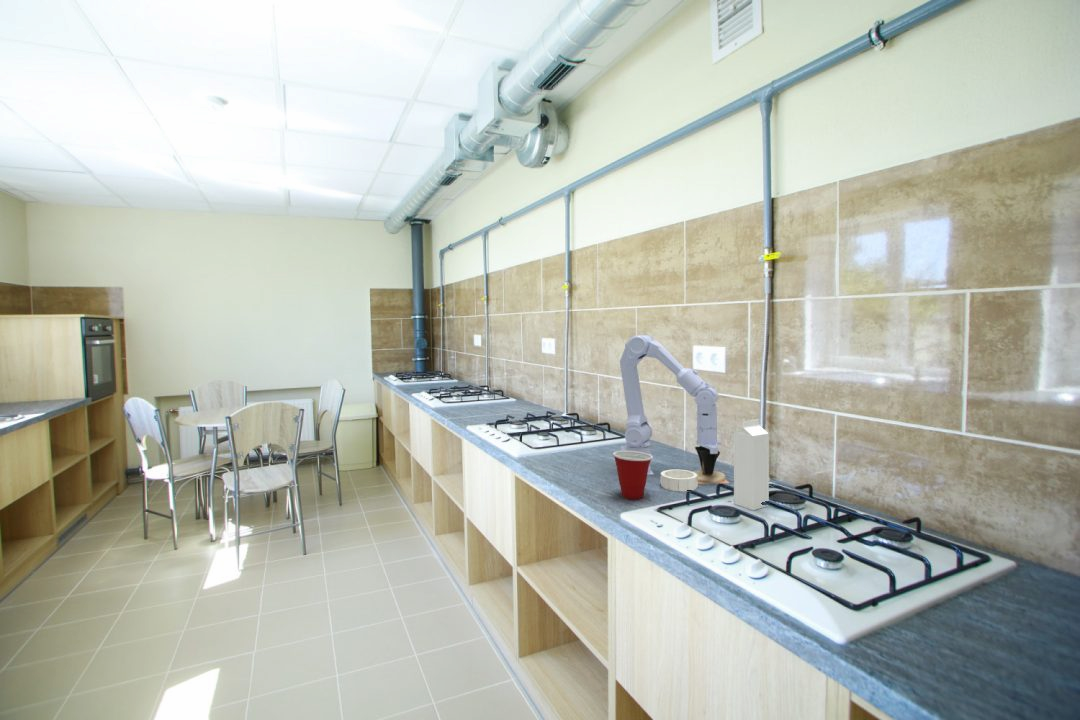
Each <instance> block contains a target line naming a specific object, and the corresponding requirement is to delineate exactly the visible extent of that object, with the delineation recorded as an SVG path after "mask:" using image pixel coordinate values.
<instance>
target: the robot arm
mask: <svg viewBox="0 0 1080 720" xmlns="http://www.w3.org/2000/svg"><path fill="white" fill-rule="evenodd" d="M624 344H625V345H624V349H623V352H622V355H621V358H620V360H619V365H620V371H621V372H620V373H621V379H622V386H623V393H624V400H625V407H626V412H627V419H626V422H625V423H626V424H625V427H626V430H625V433H624V439H625V441H626V443H627V444H624V445H621V446H620V451H637V452H643V453H647V454H650V455H652V454H651V442H650V439H651V437H652V435H653V430H652V429H653V428H652V426H650V424H649V421H648V417H647V416H646V415H645V411H644V405H643V397H642V390H641V385H640V377H639V371H638V365H639V364H640V363H641V361H643V359H644V358H645V357H648V358H652V359H657V360H658V361H659V362H660V363H661V364H663V366H665V368H667V369H668V370H670V372H671V373H673V374H674V375H675V376H676V377H675V378H676V383H677V384H679V386H680V387H682V389H684V391H686V392H687V393H688V394H689V395H690V396H691V397H694V402H695V403H696V405H697V407H696V408H697V411H696V438H697V439H696V441H695V442H696V445H697V446H695V447H694V449H695V451H696V453H697V456H698V459H699V463H700V468H701V469H702V461H703V465H704V471H705V474H713V471H715V467H716V462H717V459H718V457H719V456H720V455H721V452H720V450H718V449H719V448H718V445H722V441H720V440H718V412H717V401H718V398H719V393H718V391H717V390H716V388H715V387H714V386H711V385H710V383H709V382H708V381H705V380H703V379H702V378H701V377H700V376H699V375H698V371H697V370H696V369H692V368H689V367H688V368H684V366H683V365H682V364H681V363H680V362H679V361H677V359H676V358H675V357H674V356H673V355H672V354H671V353H670V352H669V351H668V350H667V349H666V348H665V346H663V345H662V344H661V343H660V342H658V341H657V340H656V339H654V337H653V336H652V335H650V334H642V335H641V334H640V335H639V334H635V335H633V336H631V337H630V338H629V339H628V340H627V341H626V343H624ZM651 461H652V460H651ZM651 461H650V464H649V467H648V473H647V476H650V475H654V472H653V470H652V469H651V468H652V467H651V465H652V462H651Z"/></svg>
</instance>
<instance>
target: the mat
mask: <svg viewBox="0 0 1080 720" xmlns="http://www.w3.org/2000/svg"><path fill="white" fill-rule="evenodd" d="M698 484H699V485H701V484H702V485H704V484H712V483H702V482H698ZM719 484H730V482H729V481H728V479H726V478H725V481H723V482H720V483H719Z"/></svg>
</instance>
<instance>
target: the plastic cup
mask: <svg viewBox="0 0 1080 720" xmlns="http://www.w3.org/2000/svg"><path fill="white" fill-rule="evenodd" d="M612 455H613V457H614V461H615V466H616V470H617V471H616V472H617V476H618V477H617V478H618V482H619V483H618V484H619V487H620V493H621V497H622V498H623V499H626V500H631V501H632V500H633V501H635V500H641V499H643V498H644V494H645V490H646V484H647V479H648V475H647V473H648V467H649V464H650V461H652V459H653V458H654V455H652V454H651V455H650V454H647V453H643V452H637V451H621V450H618V451H614V452H613V453H612Z"/></svg>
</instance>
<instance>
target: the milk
mask: <svg viewBox="0 0 1080 720" xmlns="http://www.w3.org/2000/svg"><path fill="white" fill-rule="evenodd" d="M769 436H770V435H769V432H768V431H767V430H766V429H764V428H763V427H762V426H761V425H760V419H750V420H744V421H743V422H742V427H741V428H739V429H737V430H736V431H734V432H733V503H734V505H736V506H739V507H742V508H744V509H748V510H750V511H757V510H760V509H763V508H767V507H768V506H765V505H762V504H761V503H762V502H765V501H769V502H770V500H769V499H770V496H769V495H770V494H769V492H770V489H769V488H770V475H769V473H770V471H769V470H770V469H769V468H770V467H769V466H770V464H769V463H770V461H769V458H770V457H769V456H770V454H769V453H770V452H769V449H770V445H769V444H770V443H769V441H770V438H769Z"/></svg>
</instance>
